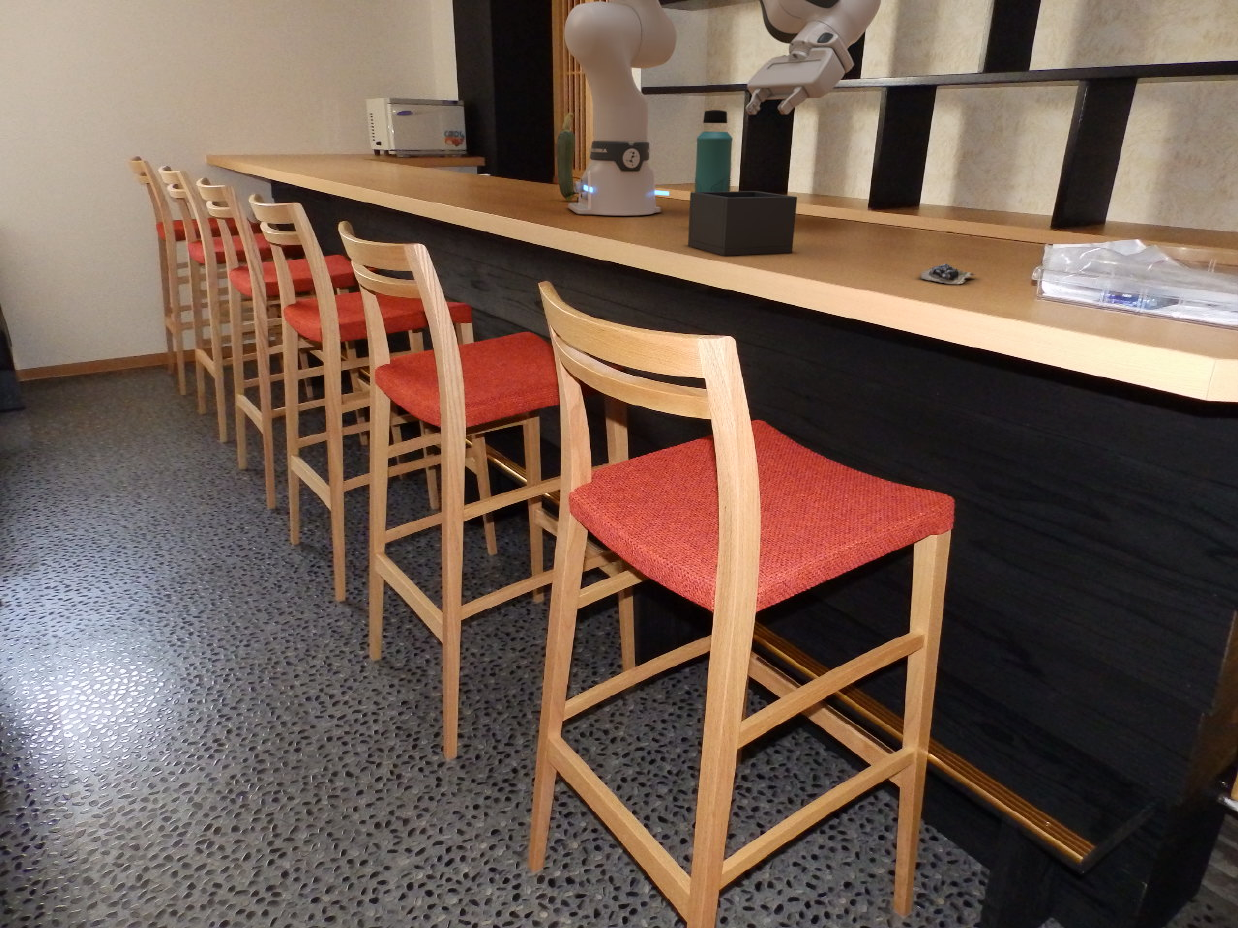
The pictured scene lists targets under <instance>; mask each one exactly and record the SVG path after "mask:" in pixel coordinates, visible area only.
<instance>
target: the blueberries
mask: <svg viewBox="0 0 1238 928" xmlns="http://www.w3.org/2000/svg"><path fill="white" fill-rule="evenodd" d="M920 276H921V277H920V279H921V280H922V279H923V280H926V281H932V282H938V283H941V284H943V283H944V284H945V285H960V284H963V283H964V282H967V280H966V279H970V277H973V276H975V274H974V273H973V272H969V271H966V272H965V271H963V270H959V268H956V267H952V265H950V264H948V263H943V264H940V265H935V266H933V267H931V268H929V269H924V270H923V271H922V272H921V273H920Z"/></svg>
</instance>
